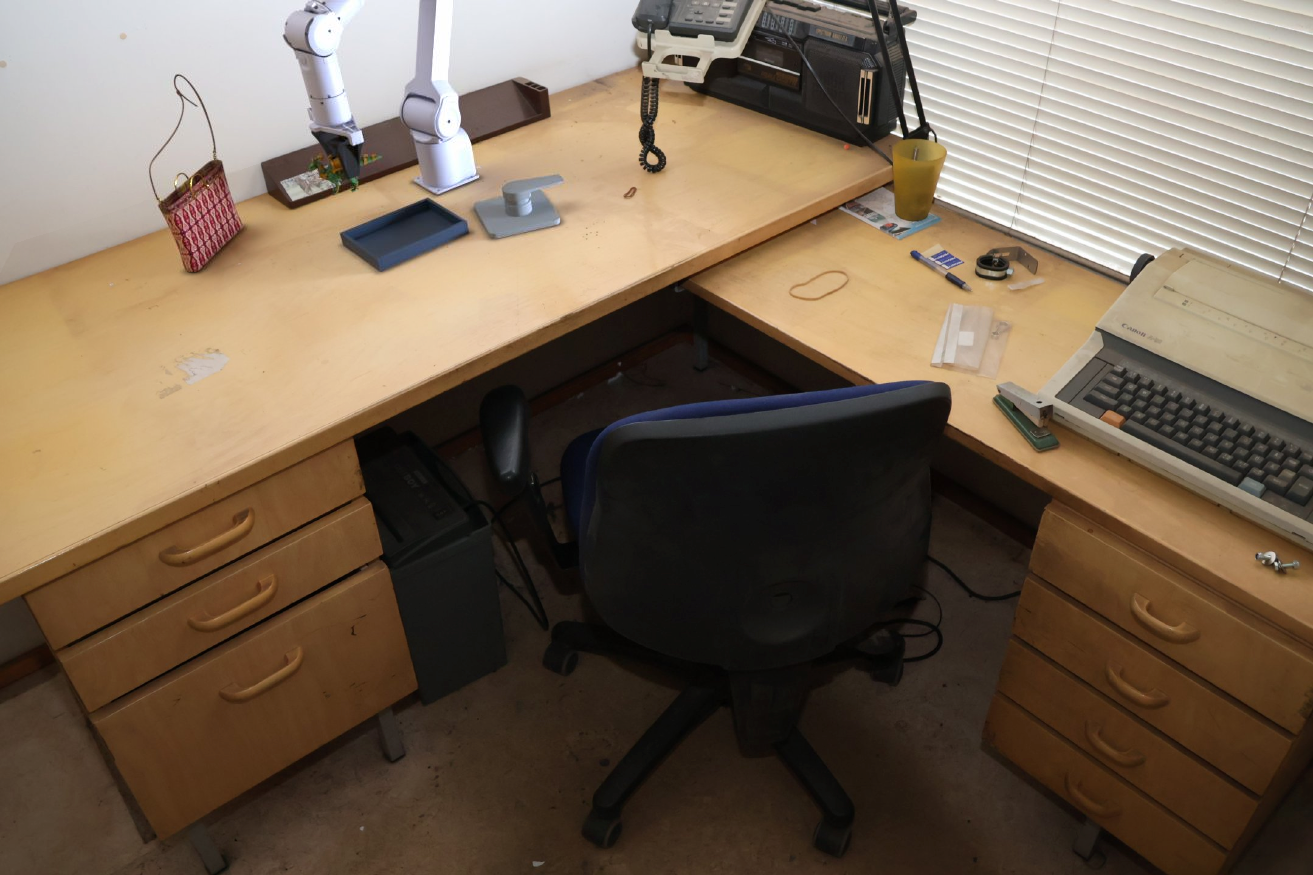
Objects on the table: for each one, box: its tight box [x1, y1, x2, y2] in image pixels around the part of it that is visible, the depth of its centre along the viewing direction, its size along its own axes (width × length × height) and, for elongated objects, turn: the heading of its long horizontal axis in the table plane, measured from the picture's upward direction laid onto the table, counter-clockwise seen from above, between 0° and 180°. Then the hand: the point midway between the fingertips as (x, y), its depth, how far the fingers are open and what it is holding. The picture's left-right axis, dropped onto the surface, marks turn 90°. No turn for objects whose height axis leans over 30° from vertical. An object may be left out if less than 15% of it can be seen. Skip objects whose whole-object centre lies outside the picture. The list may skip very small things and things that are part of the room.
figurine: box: [308, 153, 383, 195], centre depth 165 cm, size 3×12×8 cm, turn 108°
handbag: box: [148, 73, 243, 273], centre depth 162 cm, size 7×21×25 cm, turn 168°
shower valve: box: [473, 173, 565, 240], centre depth 172 cm, size 12×6×15 cm
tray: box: [339, 197, 470, 272], centre depth 168 cm, size 17×12×2 cm
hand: (347, 172), depth 166 cm, fingers closed on figurine, 3 cm apart
